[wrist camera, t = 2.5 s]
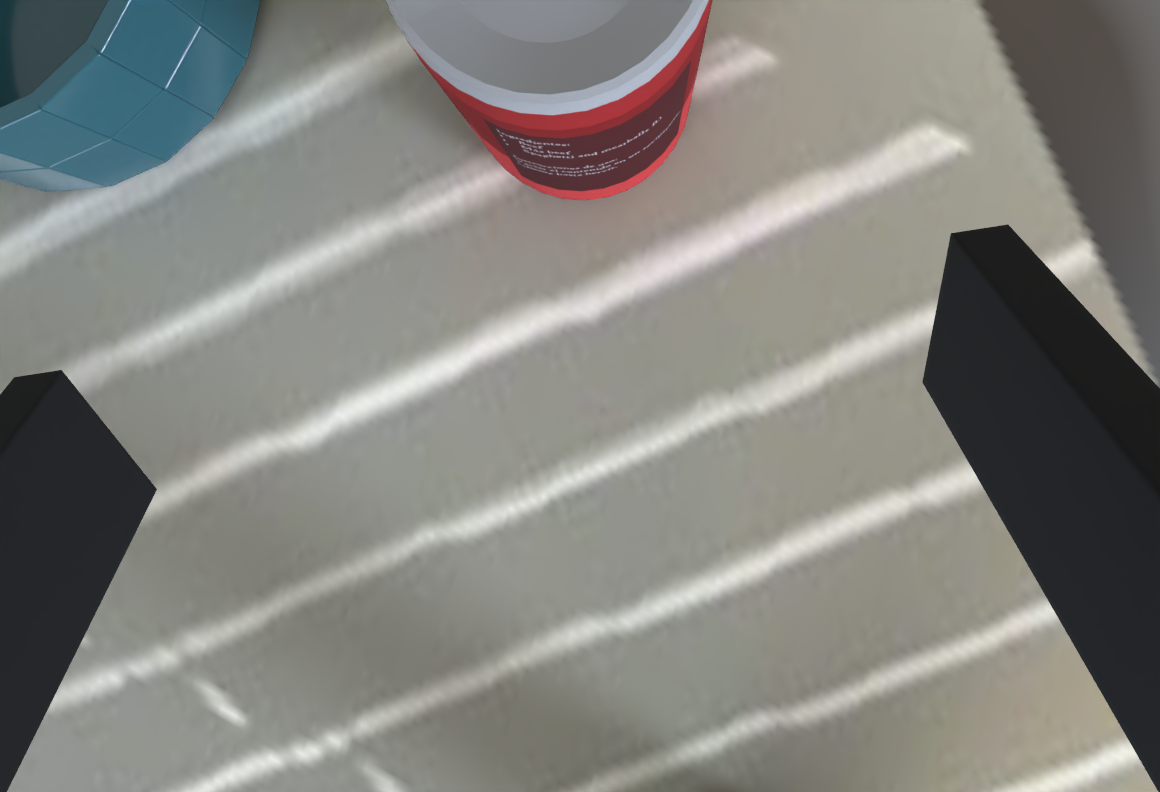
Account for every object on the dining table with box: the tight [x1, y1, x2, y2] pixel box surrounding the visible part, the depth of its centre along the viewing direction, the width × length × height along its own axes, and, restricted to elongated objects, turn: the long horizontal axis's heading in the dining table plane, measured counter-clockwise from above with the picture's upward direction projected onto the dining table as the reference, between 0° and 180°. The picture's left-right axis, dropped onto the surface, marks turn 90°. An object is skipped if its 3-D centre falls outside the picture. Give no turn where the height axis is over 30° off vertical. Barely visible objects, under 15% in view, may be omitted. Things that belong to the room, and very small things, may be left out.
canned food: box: [385, 0, 712, 200], centre depth 22 cm, size 8×8×11 cm
